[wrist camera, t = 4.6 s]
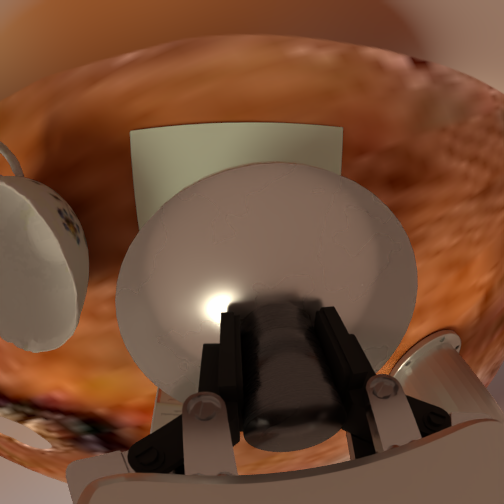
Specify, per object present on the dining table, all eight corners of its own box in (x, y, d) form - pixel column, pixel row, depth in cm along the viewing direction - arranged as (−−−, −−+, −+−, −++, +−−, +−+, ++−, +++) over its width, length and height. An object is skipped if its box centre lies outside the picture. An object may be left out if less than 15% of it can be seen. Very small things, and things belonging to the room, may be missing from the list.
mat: (323, 311, 25) (324, 313, 25) (157, 320, 24) (156, 323, 23) (340, 127, 19) (343, 127, 18) (131, 131, 17) (129, 131, 17)
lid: (370, 390, 16) (403, 463, 10) (157, 404, 15) (142, 488, 10) (425, 171, 11) (531, 210, 5) (100, 172, 10) (-5, 215, 4)
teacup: (134, 290, 22) (107, 356, 15) (33, 301, 22) (-5, 351, 15) (92, 109, 16) (29, 106, 9) (-12, 157, 15) (-71, 178, 8)
